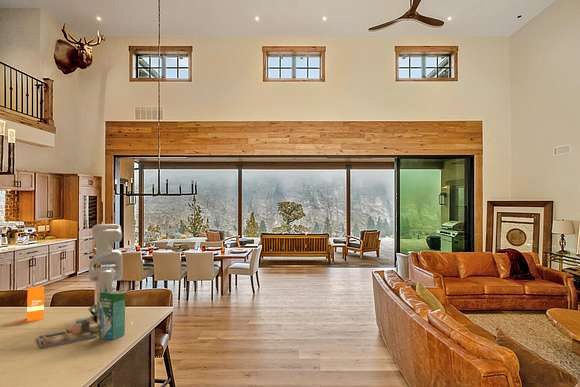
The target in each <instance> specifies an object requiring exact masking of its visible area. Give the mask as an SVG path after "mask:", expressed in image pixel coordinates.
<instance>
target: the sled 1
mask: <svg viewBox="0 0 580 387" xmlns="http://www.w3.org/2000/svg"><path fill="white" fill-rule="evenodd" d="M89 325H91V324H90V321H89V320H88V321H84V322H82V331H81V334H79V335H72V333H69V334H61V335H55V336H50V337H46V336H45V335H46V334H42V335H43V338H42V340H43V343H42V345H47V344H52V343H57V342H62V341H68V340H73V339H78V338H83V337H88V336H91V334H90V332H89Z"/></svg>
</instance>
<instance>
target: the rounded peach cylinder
mask: <svg viewBox="0 0 580 387" xmlns="http://www.w3.org/2000/svg"><path fill="white" fill-rule="evenodd" d="M71 328H72V335H79V334H81V324H80V323H77V324H76V323H73V324H71Z"/></svg>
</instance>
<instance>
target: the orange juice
mask: <svg viewBox="0 0 580 387" xmlns="http://www.w3.org/2000/svg"><path fill="white" fill-rule="evenodd" d="M26 302H27V304H26V305H27V306H26V322H32V321H38V320H39V321H40V320H44V316H45V315H44V313H45V312H44V311H45V286H44V285H43V286H42V285H41V286H35V287H34V286H33V287H27V300H26Z"/></svg>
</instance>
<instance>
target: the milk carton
mask: <svg viewBox="0 0 580 387" xmlns="http://www.w3.org/2000/svg"><path fill="white" fill-rule="evenodd" d="M125 319H126V293H120V291H119V290H113V291H112V292H111V293H106V292H100V318H99V323H100V328H99V331H98V334H99V335H98V336H99V339H103V340H110V341H113V340H116V339H118V338H121V337H122V336H125V333H126V332H125V326H126V324H125V322H126V321H125Z"/></svg>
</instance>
